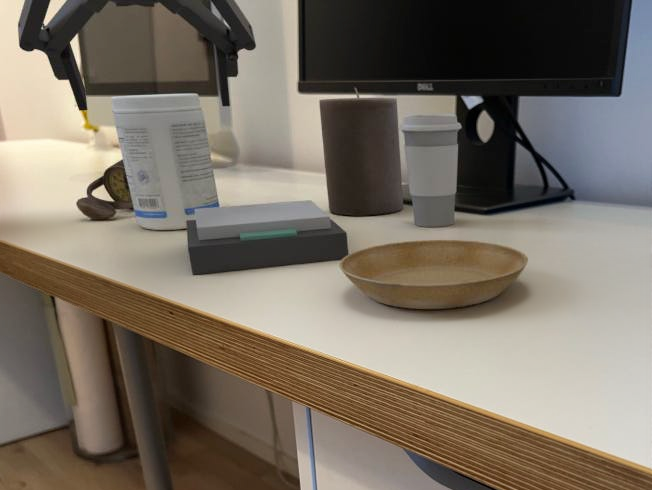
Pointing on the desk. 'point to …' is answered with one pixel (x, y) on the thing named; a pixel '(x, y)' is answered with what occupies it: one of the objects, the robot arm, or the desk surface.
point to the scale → (262, 236)
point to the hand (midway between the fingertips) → (155, 98)
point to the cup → (432, 166)
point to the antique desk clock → (116, 189)
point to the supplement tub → (165, 158)
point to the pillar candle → (362, 155)
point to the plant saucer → (434, 272)
